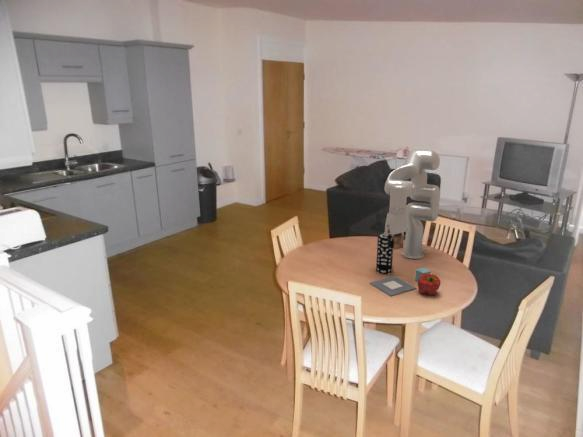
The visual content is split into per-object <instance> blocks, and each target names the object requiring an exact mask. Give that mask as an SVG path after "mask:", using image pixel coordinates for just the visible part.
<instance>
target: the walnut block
mask: <svg viewBox="0 0 583 437" xmlns="http://www.w3.org/2000/svg"><path fill="white" fill-rule="evenodd" d="M390 237H391V236H390ZM404 239H405V236H403V235H400V234H395V235H394V238H393V241H394V245H393V248H392V249H393V251H395V250H399V249H403V248H404Z"/></svg>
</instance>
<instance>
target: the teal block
mask: <svg viewBox="0 0 583 437" xmlns="http://www.w3.org/2000/svg"><path fill="white" fill-rule="evenodd" d="M424 273H428V274H432V272H431V270H429V269H427V268H425V267H421V268H417V269H415V277H414V278H415V279H414V280H415V281H416V282H418V280H419V277H421V276H422V274H424Z"/></svg>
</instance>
